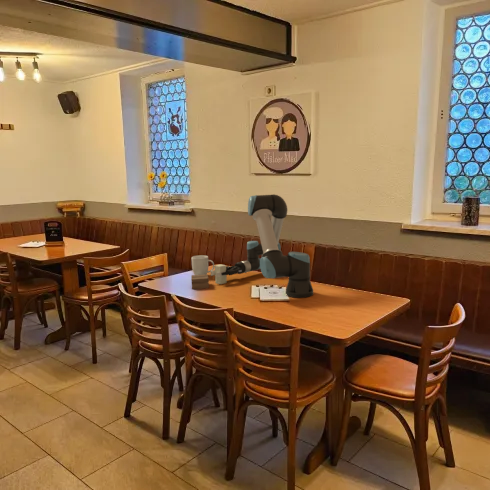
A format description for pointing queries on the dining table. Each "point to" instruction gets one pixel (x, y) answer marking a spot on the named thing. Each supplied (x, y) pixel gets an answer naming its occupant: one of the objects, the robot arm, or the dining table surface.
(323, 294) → the dining table surface
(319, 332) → the dining table surface
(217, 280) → the sage block
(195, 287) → the walnut base
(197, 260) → the mug
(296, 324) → the dining table surface
